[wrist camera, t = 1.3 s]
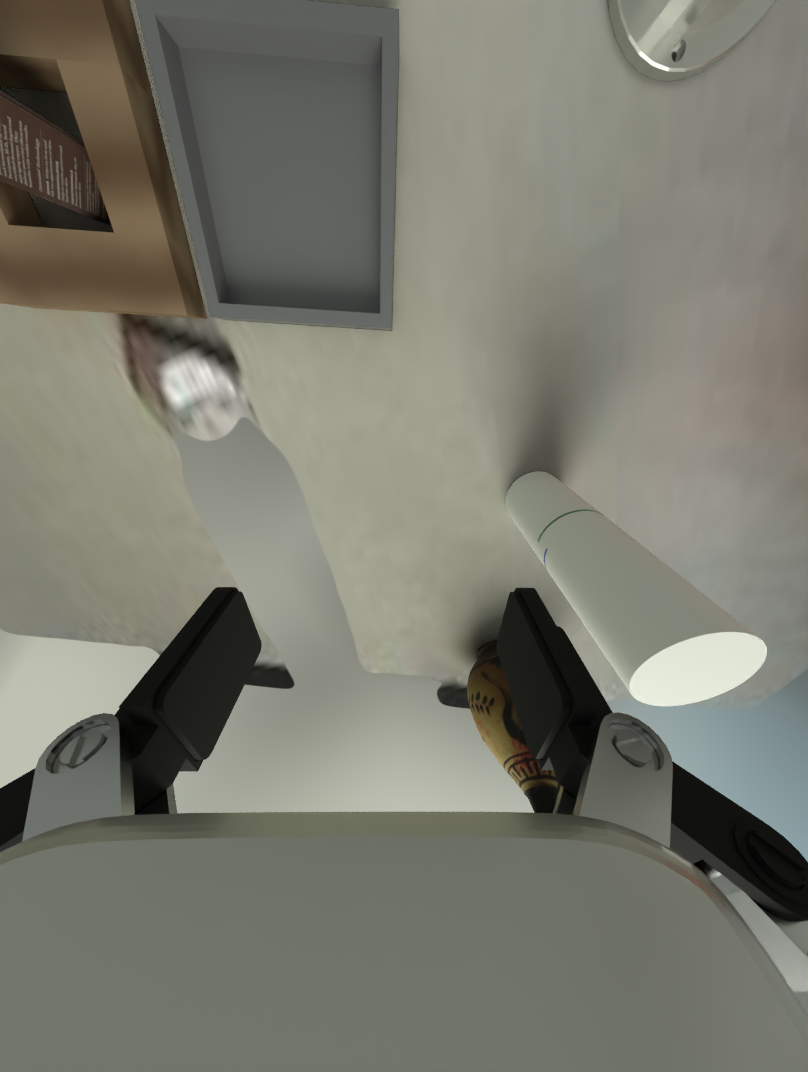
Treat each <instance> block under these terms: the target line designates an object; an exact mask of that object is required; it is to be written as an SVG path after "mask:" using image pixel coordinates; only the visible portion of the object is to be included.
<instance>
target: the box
mask: <svg viewBox="0 0 808 1072" xmlns="http://www.w3.org/2000/svg"><path fill="white" fill-rule="evenodd" d="M0 181H3V182H5V183H8V184H10V185H13V186H15V187H18V188H20V189H23V190H25V191H27V192H30V193H32V194H35V195H37V196H39V197H42V198H44V199H47V200H49V201H52V202H54V203H56V204H58V205H61V206H64V207H66V208H68V209H71V210H73V211H76V212H78V213H80V214H83V215H85V216H88V217H90V218H93V219H95V220H98V221H100V222H103V223H105V224H108V222H109V216H108V213H107V210H106V207H105V204H104V201H103V198H102V195H101V192H100V189H99V186H98V183H97V180H96V177H95V174H94V171H93V168H92V165H91V162H90V159H89V156H88V153H87V151H86V148H85V145H84V143H82V142H81V141H79V140H78V139H76V138H75V137H73V136H72V135H70V134H69V133H67V132H66V131H64V130H63V129H61V128H60V127H58V126H57V125H55V124H54V123H52V122H51V121H49V120H48V119H46V118H45V117H43V116H42V115H40V114H39V113H37V112H36V111H34V110H33V109H31V108H29V107H28V106H26V105H25V104H23V103H22V102H20V101H18V100H17V99H15V98H14V97H12V96H10V95H9V94H7V93H6V92H4V91H2V90H1V89H0Z"/></svg>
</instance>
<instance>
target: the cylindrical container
mask: <svg viewBox="0 0 808 1072" xmlns="http://www.w3.org/2000/svg"><path fill="white" fill-rule="evenodd" d="M505 507H506V510H507V512H508V513H509V515H510V516H511V518H512V519H513V521H514V522H515V524H516V525H517V527H518V528H519V530H520V531H521V532H522V534H523V535H524V537H525V538H526V540H527V541H528V543H529V544H530V546H531V547H532V549H533V550H534V552H535V553H536V555H537V556H538V558H539V559H540V561H541V562H542V563H543V565H544V566H545V568H546V569H547V571H548V572H549V574H550V575H551V577H552V578H553V580H554V581H555V583H556V584H557V586H558V587H559V589H560V590H561V591H562V593H563V594H564V596H565V597H566V599H567V600H568V602H569V603H570V605H571V606H572V608H573V609H574V611H575V612H576V614H577V615H578V617H579V618H580V619H581V621H582V622H583V624H584V625H585V627H586V628H587V630H588V631H589V633H590V634H591V636H592V637H593V639H594V640H595V642H596V643H597V645H598V646H599V647H600V649H601V650H602V652H603V653H604V655H605V656H606V658H607V659H608V661H609V662H610V664H611V665H612V667H613V668H614V670H615V671H616V673H617V674H618V675H619V677H620V678H621V680H622V681H623V683H624V684H625V686H626V687H627V689H628V690H629V692H630V693H631V695H632V696H633V697H634V698H635V699H637V700H638V701H640V702H643V703H645V704H649V705H655V706H676V705H685V704H690V703H695V702H699V701H702V700H706V699H709V698H712V697H714V696H717V695H720V694H722V693H724V692H726V691H728V690H731V689H733V688H735V687H736V686H738V685H739V684H741V683H743V682H744V681H746V680H747V679H748V678H750V677H751V676H752V675H753V674H754V673H755V672H756V671H757V670H758V669H759V668H760V667H761V666H762V664H763V663H764V661H765V658H766V656H767V647H766V645H765V644H764V642H763V641H762V640H761V639H760V638H759V637H757V636H756V635H755V634H753V633H752V632H751V631H750V630H748V629H747V628H746V627H745V626H743V625H742V624H741V623H740V622H738V621H737V620H736V619H734V618H733V617H732V616H731V615H729V614H728V613H727V612H726V611H724V610H723V609H722V608H721V607H719V606H718V605H717V604H715V603H714V602H713V601H712V600H710V599H709V598H708V597H707V596H705V595H704V594H703V593H701V592H700V591H699V590H698V589H696V588H695V587H694V586H693V585H691V584H690V583H689V582H688V581H686V580H685V579H684V578H682V577H681V576H680V575H679V574H677V573H676V572H675V571H674V570H672V569H671V568H670V567H669V566H667V565H666V564H665V563H663V562H662V561H661V560H660V559H658V558H657V557H656V556H655V555H653V554H652V553H651V552H649V551H648V550H647V549H646V548H644V547H643V546H642V545H641V544H639V543H638V542H637V541H636V540H634V539H633V538H632V537H630V536H629V535H628V534H627V533H625V532H624V531H623V530H622V529H620V528H619V527H618V526H617V525H615V524H614V523H613V522H611V521H610V520H609V519H608V518H606V517H605V516H604V515H603V514H601V513H600V512H599V511H597V510H596V509H595V508H594V507H592V506H591V505H590V504H589V503H587V502H586V501H585V500H583V499H582V498H581V497H580V496H578V495H577V494H576V493H575V492H573V491H572V490H571V489H569V488H568V487H567V486H566V485H564V484H563V483H562V482H561V481H559V480H558V479H557V478H555V477H554V476H553V475H551V474H549V473H547V472H542V471H535V472H530V473H527V474H525V475H523V476H521V477H519V478H518V479H517V480H516V481H514V482H513V484H512V485H511V486H510V487H509V489H508V491H507V493H506V496H505Z"/></svg>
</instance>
